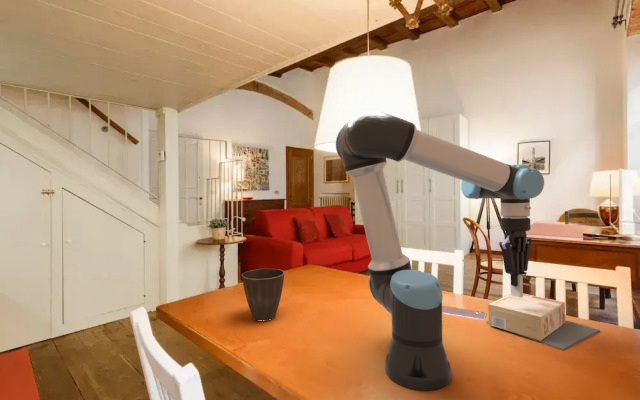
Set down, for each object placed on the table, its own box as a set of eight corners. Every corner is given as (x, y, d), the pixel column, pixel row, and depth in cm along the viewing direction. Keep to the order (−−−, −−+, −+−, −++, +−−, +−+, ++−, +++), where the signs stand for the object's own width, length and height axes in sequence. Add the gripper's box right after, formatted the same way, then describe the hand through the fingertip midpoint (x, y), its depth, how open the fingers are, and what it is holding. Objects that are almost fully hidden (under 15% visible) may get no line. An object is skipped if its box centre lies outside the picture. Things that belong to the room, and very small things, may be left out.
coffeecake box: (541, 341, 92) (566, 323, 104) (541, 316, 92) (565, 301, 104) (487, 325, 104) (515, 311, 116) (487, 303, 104) (514, 291, 116)
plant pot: (294, 315, 119) (292, 271, 118) (265, 329, 106) (263, 280, 106) (264, 308, 127) (262, 266, 127) (234, 320, 115) (232, 275, 114)
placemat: (563, 350, 88) (563, 348, 88) (486, 323, 107) (486, 321, 107) (599, 331, 99) (599, 329, 99) (524, 310, 118) (524, 308, 118)
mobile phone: (442, 304, 123) (486, 311, 116) (442, 307, 124) (486, 314, 116) (437, 311, 117) (484, 318, 109) (437, 314, 117) (484, 321, 109)
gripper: (515, 219, 91) (517, 303, 91) (540, 216, 97) (542, 295, 98) (489, 217, 97) (491, 296, 98) (515, 215, 104) (516, 289, 104)
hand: (516, 295), depth 98 cm, fingers closed
